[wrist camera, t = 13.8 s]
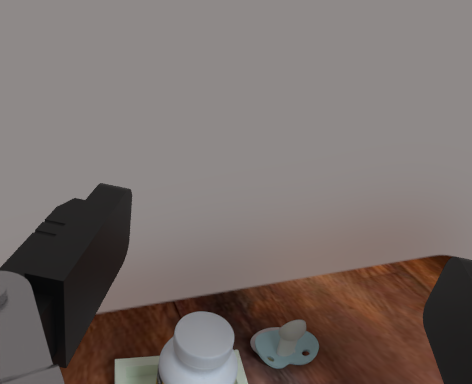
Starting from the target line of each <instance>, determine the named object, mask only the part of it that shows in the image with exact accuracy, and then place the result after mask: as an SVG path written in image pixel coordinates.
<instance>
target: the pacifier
mask: <svg viewBox="0 0 472 384" xmlns="http://www.w3.org/2000/svg"><path fill="white" fill-rule="evenodd" d="M250 343H251V347H252V349H253V350H254V351H255V352H256V353H257V354H258V355H259V356H260V358H261V359H262V360H263V361H264V362H265V363H266V364H267V365H269V366H271V367H273V368H276V369H281V368H284V367H286V366H287V365H288V364H293V365H304V364H307V363H309V362H311V361H312V360H313V359H314V358H315V357H316V355H317V353H318V350H319V343H318V340H317V339H316V337H315V336H314V335H312V334H311V333H309V332H307V331H306V323H305V321H304V320H294V321H291V322H288V323H286V324H285V325H283V326H282V327H272V328H267V329H263V330H261V331H259V332H257V333H256V334H255V335H254V336H253V337H252V338H251V342H250ZM304 351H308V352H309V353H310V354H309V355H308V356H304V355H302V352H304Z"/></svg>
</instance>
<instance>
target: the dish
mask: <svg viewBox="0 0 472 384" xmlns="http://www.w3.org/2000/svg"><path fill="white" fill-rule="evenodd" d="M234 352H235V355H236V358H237V363H238V371H237V377H236V381H235V384H248V382H247V379H246V375H245V372H244V368H243V365H242V362H241V358H240V355H239V351H238V350H234ZM159 357H160V356H150V357H137V358H124V359H115V368H114V384H156V378H157V371H158V363H159Z"/></svg>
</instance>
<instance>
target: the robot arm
mask: <svg viewBox="0 0 472 384" xmlns="http://www.w3.org/2000/svg"><path fill="white" fill-rule="evenodd" d="M131 202H132V192H131V190H130V189H127V188H122V187H117V186H113V185H108V184H103V183H100V184H99V185H98V186H97V187H96V188H95V189H94V190H93V192H92V193H91V194H90V195H89V196H88V198H87V199H86V200H82V199H76V198H74V199H72V200H70V201H68V202H66V203H64V204H62V205H60V206H58V207H56V208H55V209H54V211H52V213H51V214H50V215H49V216H48V217H47V218H46V219H45V222H42V223H41V224H40V225H39V227H38V228H37V229H36V230H35V233H32V234H31V235H30V236H29V237H28V238H27V240H26V241H25V242H24V243H23V244H22V245H21V246H20V247H19V248H18V249H17V250H16V251H15V252H14V254H13V255H12V256H11V257H10V258H9V259H8V260H7V261H6V262H5V263H4V264H3V265H2V266H1V268H0V384H64V380H63V377H62V374H61V371H60V368H59V367H63V368H67V366H68V364H69V362H70V360H71V358H72V357H73V355H74V353H75V351H76V349H77V347H78V345H79V344H80V342H81V340H82V338H83V336H84V334H85V333H86V331H87V329H88V327H89V325H90V323H91V322H92V320H93V318H94V316H95V314H96V312H97V311H98V309H99V307H100V305H101V303H102V301H103V299H104V298H105V296H106V294H107V292H108V290H109V288H110V286H111V285H112V283H113V281H114V279H115V277H116V276H117V274H118V272H119V270H120V268H121V266H122V264H123V262H124V260H125V257H126V254H127V250H128V245H129V236H130V220H131V205H132V203H131ZM423 324H424V328H425V331H426V334H427V337H428V340H429V343H430V345H431V348H432V351H433V354H434V357H435V359H436V362H437V365H438V368H439V371H440V374H441V376H442V379H443V382H444V384H472V260H469V259H464V258H459V257H452V258H450V259H449V260H448V262H447V263H446V265H445V267H444V269H443V271H442V273H441V274H440V276H439V278H438V280H437V282H436V284H435V286H434V288H433V290H432V292H431V294H430V296H429V298H428V300H427V302H426V304H425V307H424V313H423Z"/></svg>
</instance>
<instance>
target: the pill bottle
mask: <svg viewBox="0 0 472 384" xmlns="http://www.w3.org/2000/svg"><path fill="white" fill-rule="evenodd" d="M233 343H234V332H233V329H232V327H231V326H230V324H229V323H228V322H227V321H226V320H225V319H224V318H222V317H221V316H219V315H217V314H214V313H210V312H202V311H200V312H193V313H190V314H188V315H186V316H184V317H183V318H182V319H181V320H180V321H179V322H178V323H177V325H176V328H175V332H174V337H172V338H171V339H170V340H169V341H168V342H167V343H166V344H165V346H164V347H163V349H162V351H161V354H160V357H159V363H158V371H157V378H156V384H235V381H236V377H237V371H238V363H237V358H236V355H235V352H234V350H233Z"/></svg>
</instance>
